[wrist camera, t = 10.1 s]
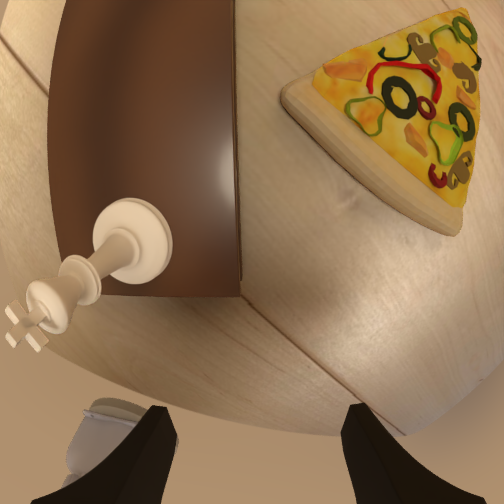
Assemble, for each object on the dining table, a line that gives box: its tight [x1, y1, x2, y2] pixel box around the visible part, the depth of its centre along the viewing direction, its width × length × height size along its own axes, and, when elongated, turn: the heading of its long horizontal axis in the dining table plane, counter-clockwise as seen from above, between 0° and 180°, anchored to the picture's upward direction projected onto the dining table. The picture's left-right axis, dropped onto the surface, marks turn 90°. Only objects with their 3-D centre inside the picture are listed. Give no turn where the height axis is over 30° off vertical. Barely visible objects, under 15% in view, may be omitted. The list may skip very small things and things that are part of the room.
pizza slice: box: [281, 8, 481, 237], centre depth 12 cm, size 16×21×3 cm
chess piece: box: [5, 198, 173, 353], centre depth 10 cm, size 5×5×10 cm
